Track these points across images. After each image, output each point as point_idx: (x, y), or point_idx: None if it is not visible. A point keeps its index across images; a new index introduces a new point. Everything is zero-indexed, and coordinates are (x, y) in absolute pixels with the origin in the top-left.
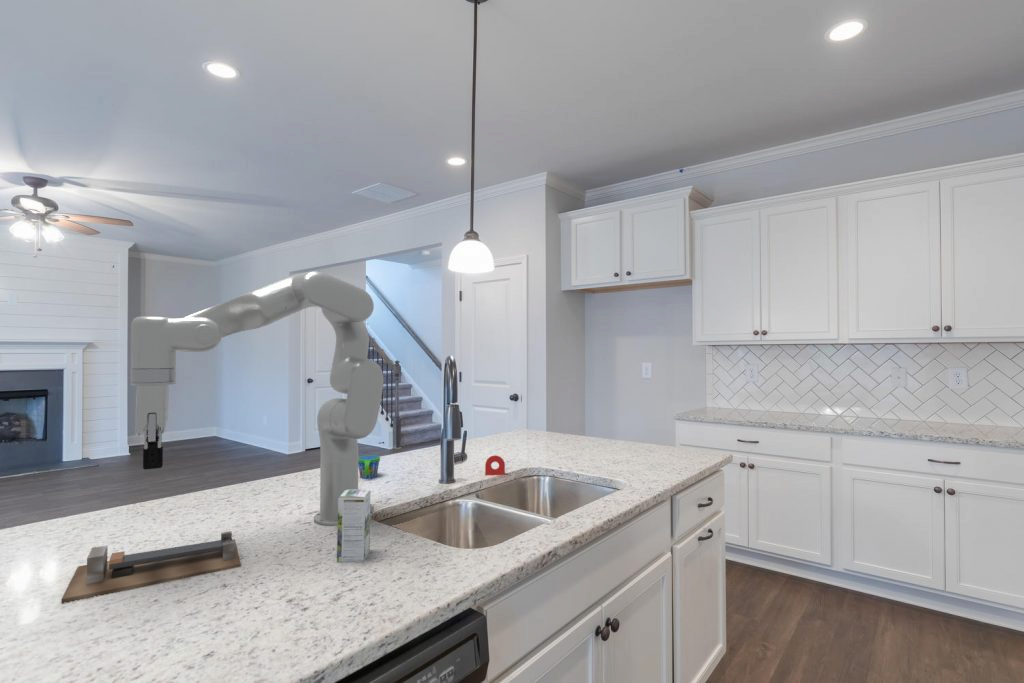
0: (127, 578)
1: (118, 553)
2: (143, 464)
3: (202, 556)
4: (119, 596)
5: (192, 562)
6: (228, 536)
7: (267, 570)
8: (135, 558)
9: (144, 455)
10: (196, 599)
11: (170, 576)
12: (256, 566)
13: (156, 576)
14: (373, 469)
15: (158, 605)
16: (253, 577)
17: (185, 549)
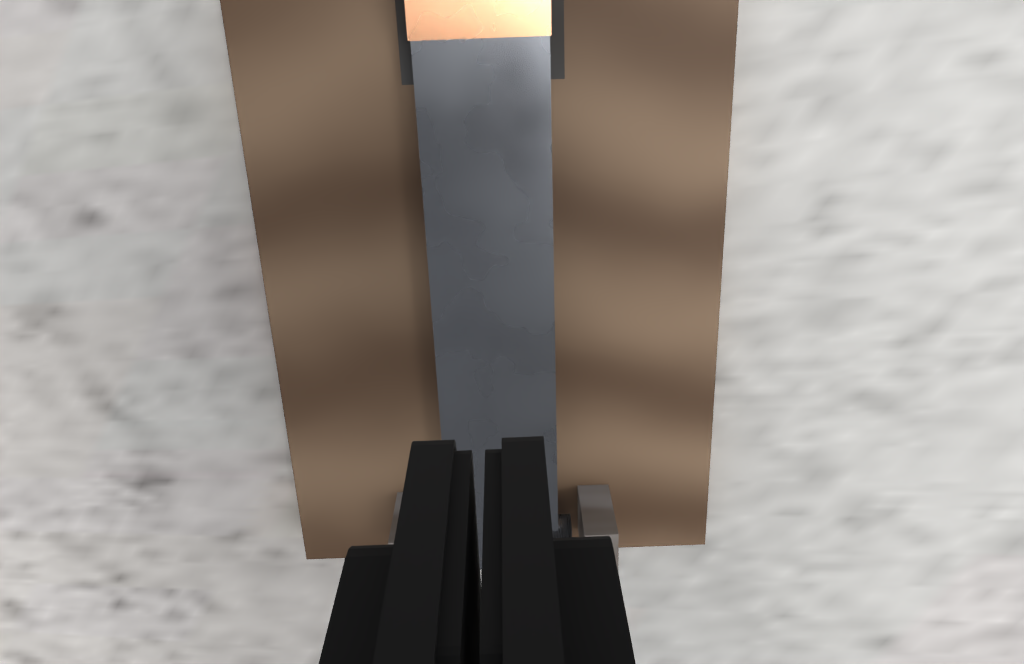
0: (353, 66)
1: (520, 2)
2: (405, 481)
3: None
4: (209, 42)
5: None
6: None
7: (254, 629)
8: (449, 107)
9: (389, 599)
10: (34, 379)
11: (279, 276)
12: (326, 595)
13: (313, 211)
14: None
15: (22, 234)
16: (196, 580)
17: (482, 360)
